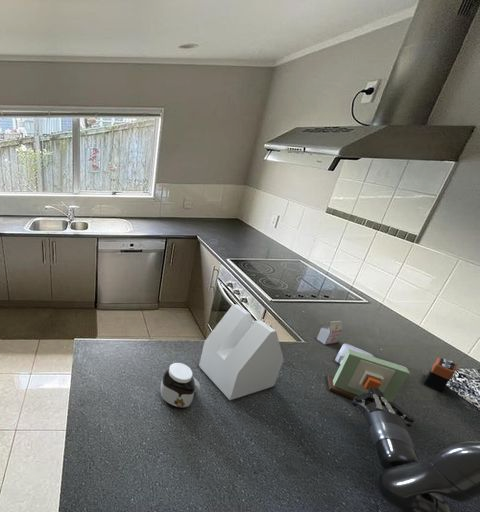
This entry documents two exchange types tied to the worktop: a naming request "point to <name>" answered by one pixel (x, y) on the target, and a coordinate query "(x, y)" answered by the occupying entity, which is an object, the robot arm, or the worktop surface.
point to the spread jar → (178, 386)
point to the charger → (344, 350)
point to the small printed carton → (330, 332)
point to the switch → (372, 383)
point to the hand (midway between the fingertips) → (374, 389)
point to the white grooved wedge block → (241, 354)
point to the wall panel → (357, 372)
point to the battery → (440, 374)
